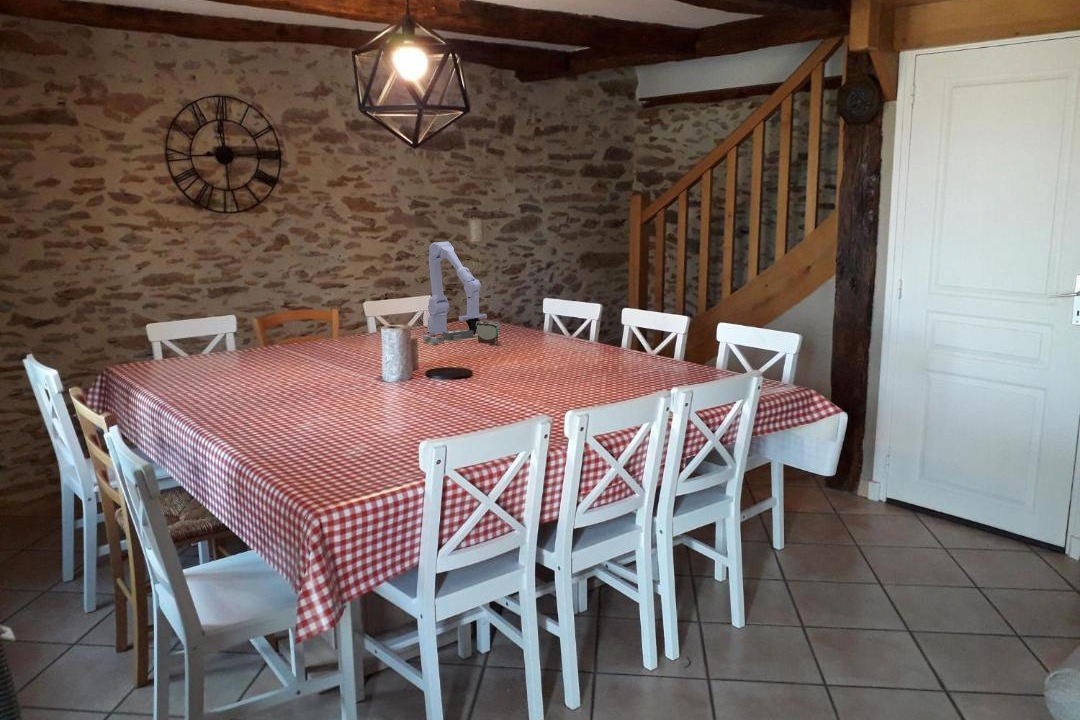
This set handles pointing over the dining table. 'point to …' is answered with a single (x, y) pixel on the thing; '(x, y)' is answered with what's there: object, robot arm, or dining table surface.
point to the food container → (488, 332)
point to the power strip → (465, 334)
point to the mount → (436, 340)
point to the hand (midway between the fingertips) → (473, 334)
